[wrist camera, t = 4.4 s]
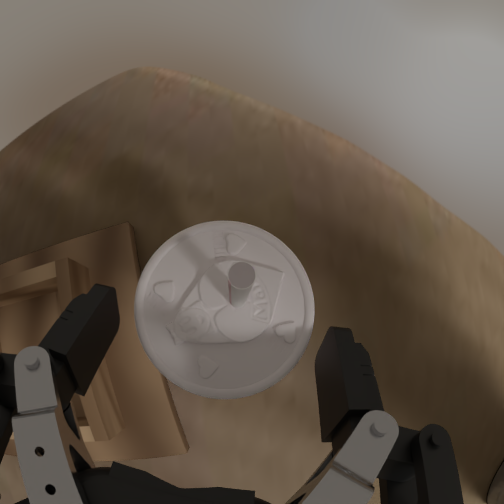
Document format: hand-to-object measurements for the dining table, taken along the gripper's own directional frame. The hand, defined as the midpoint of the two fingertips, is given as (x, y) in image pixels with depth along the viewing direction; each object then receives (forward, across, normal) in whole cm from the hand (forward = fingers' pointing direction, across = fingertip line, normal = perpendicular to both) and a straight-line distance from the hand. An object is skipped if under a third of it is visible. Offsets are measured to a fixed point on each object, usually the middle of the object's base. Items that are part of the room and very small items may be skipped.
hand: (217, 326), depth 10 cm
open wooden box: (+3, +12, +10) cm, 16 cm away
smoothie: (+7, 0, +6) cm, 9 cm away
